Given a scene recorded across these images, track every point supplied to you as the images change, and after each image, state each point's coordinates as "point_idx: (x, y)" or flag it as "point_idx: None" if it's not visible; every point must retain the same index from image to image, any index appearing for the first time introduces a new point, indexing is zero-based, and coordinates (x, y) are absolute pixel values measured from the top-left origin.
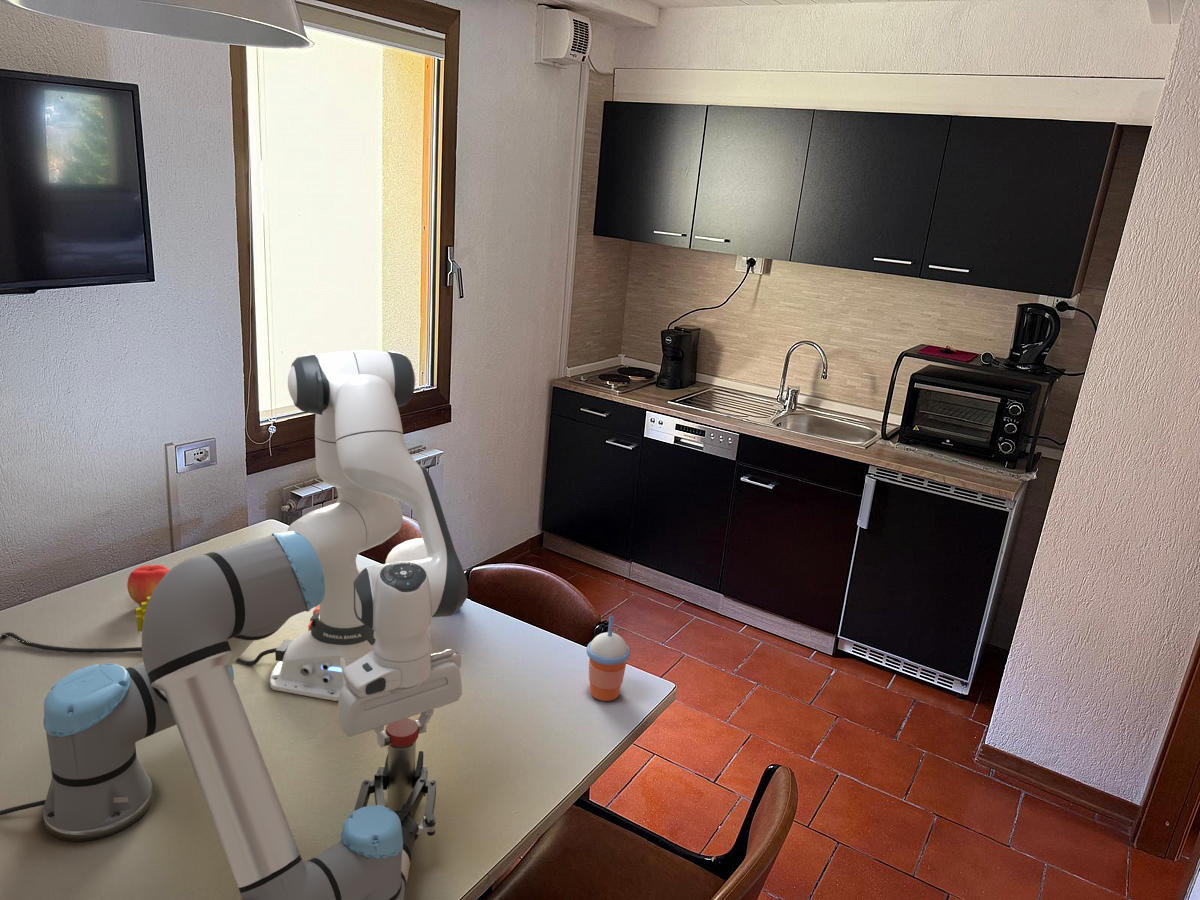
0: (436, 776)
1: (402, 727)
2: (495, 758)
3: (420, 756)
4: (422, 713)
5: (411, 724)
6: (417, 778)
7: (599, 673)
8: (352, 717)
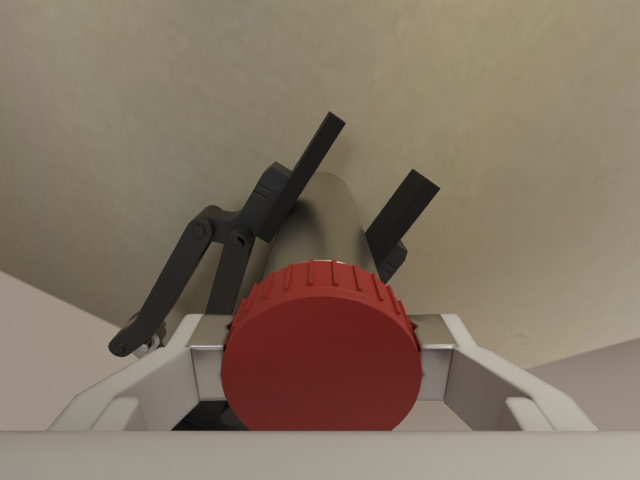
0: (458, 137)
1: (322, 385)
2: (631, 157)
3: (414, 210)
4: (496, 389)
5: (384, 387)
6: None
7: None
8: None
